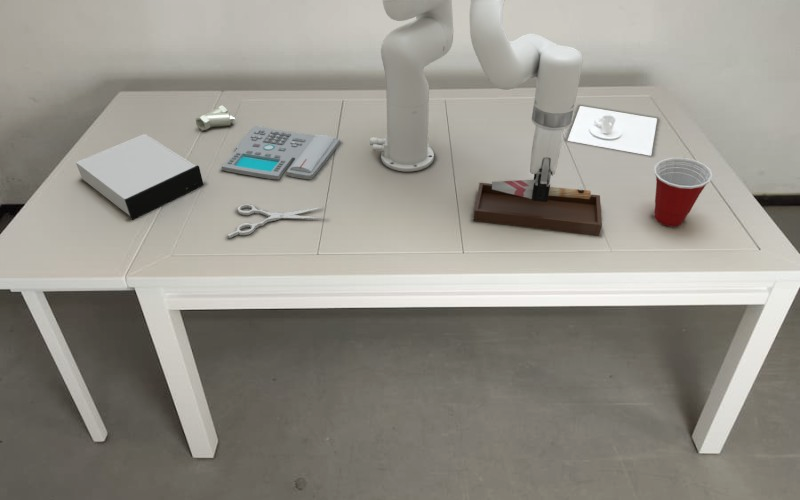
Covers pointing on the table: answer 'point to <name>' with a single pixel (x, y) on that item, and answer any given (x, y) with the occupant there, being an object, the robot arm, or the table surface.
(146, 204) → the disc drive
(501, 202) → the tray
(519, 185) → the paintbrush
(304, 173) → the office telephone
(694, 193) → the plastic cup
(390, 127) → the robot arm
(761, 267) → the table surface
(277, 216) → the scissors
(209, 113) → the pipe fitting
